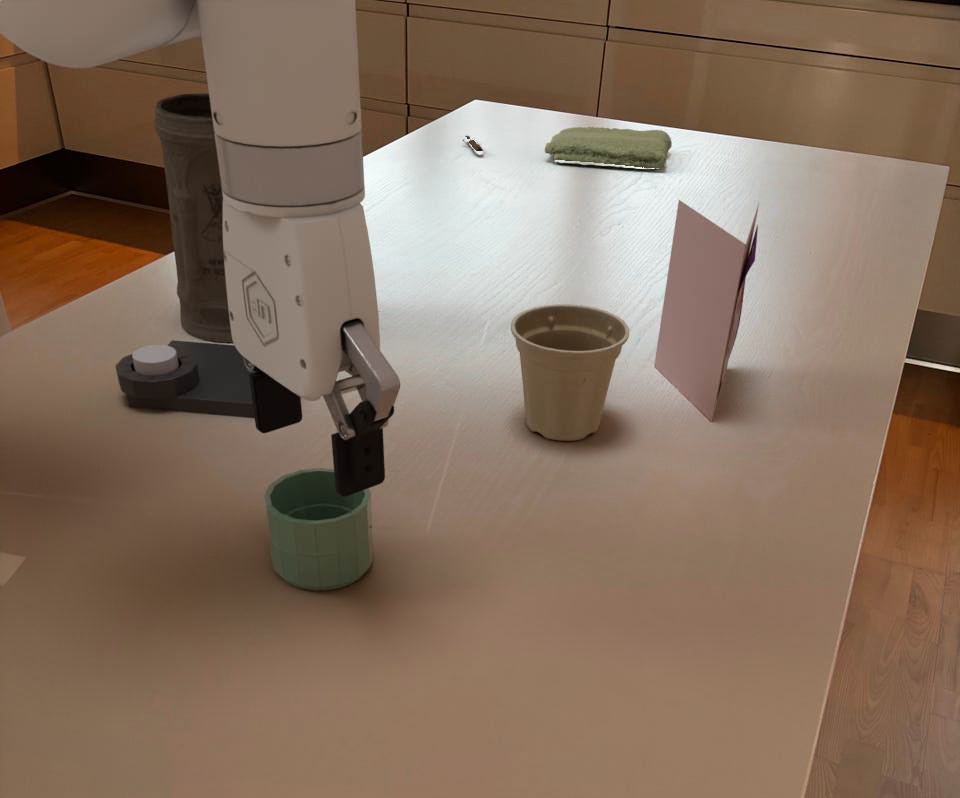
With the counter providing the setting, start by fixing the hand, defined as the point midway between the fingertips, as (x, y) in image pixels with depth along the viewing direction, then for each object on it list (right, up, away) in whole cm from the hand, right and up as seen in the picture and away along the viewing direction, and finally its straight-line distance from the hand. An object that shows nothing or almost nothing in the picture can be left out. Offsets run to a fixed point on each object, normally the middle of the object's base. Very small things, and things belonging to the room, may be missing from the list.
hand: (318, 455), depth 65 cm
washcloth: (+29, +60, +87) cm, 110 cm away
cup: (-1, -6, +5) cm, 8 cm away
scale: (-12, +11, +26) cm, 31 cm away
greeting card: (+29, +11, +28) cm, 42 cm away
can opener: (+9, +62, +89) cm, 108 cm away
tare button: (-17, +11, +22) cm, 30 cm away
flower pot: (+17, +6, +22) cm, 29 cm away
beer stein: (-12, +20, +37) cm, 44 cm away
